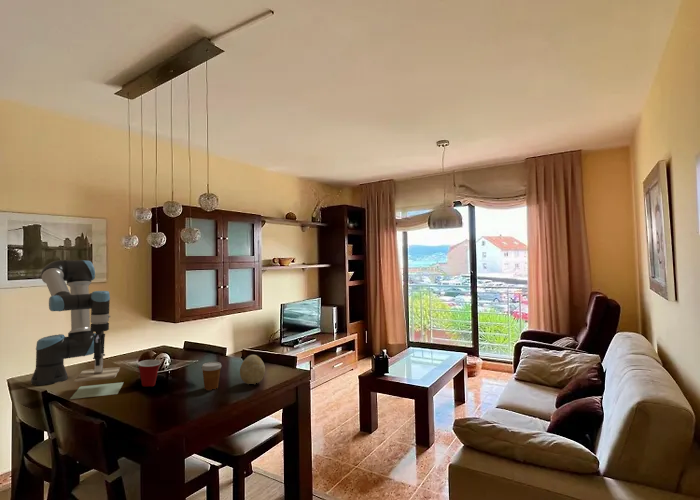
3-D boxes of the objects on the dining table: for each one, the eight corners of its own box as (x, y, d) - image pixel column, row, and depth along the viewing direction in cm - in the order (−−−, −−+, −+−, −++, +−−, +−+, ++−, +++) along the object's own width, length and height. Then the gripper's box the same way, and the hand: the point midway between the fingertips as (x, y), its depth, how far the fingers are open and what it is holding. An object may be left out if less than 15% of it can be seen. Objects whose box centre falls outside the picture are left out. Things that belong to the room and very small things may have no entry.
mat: (80, 387, 194) (80, 386, 194) (123, 383, 201) (123, 382, 201) (69, 400, 176) (69, 399, 176) (117, 394, 184) (117, 393, 184)
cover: (83, 372, 194) (83, 351, 194) (120, 369, 200) (120, 349, 200) (74, 381, 179) (75, 360, 179) (114, 378, 185) (115, 357, 185)
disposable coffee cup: (200, 392, 188) (200, 367, 188) (202, 386, 197) (202, 362, 198) (220, 390, 191) (221, 365, 191) (221, 384, 200) (222, 361, 200)
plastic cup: (150, 389, 191) (151, 365, 191) (131, 388, 193) (132, 364, 194) (165, 383, 202) (166, 359, 202) (147, 381, 204) (147, 358, 204)
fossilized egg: (252, 379, 209) (252, 351, 210) (270, 382, 203) (270, 354, 203) (234, 385, 198) (234, 355, 199) (252, 389, 192) (252, 359, 192)
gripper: (105, 325, 184) (104, 374, 183) (111, 319, 199) (110, 365, 198) (86, 325, 181) (85, 376, 181) (94, 320, 196) (93, 367, 195)
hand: (98, 370), depth 189 cm, fingers closed on cover, 3 cm apart
